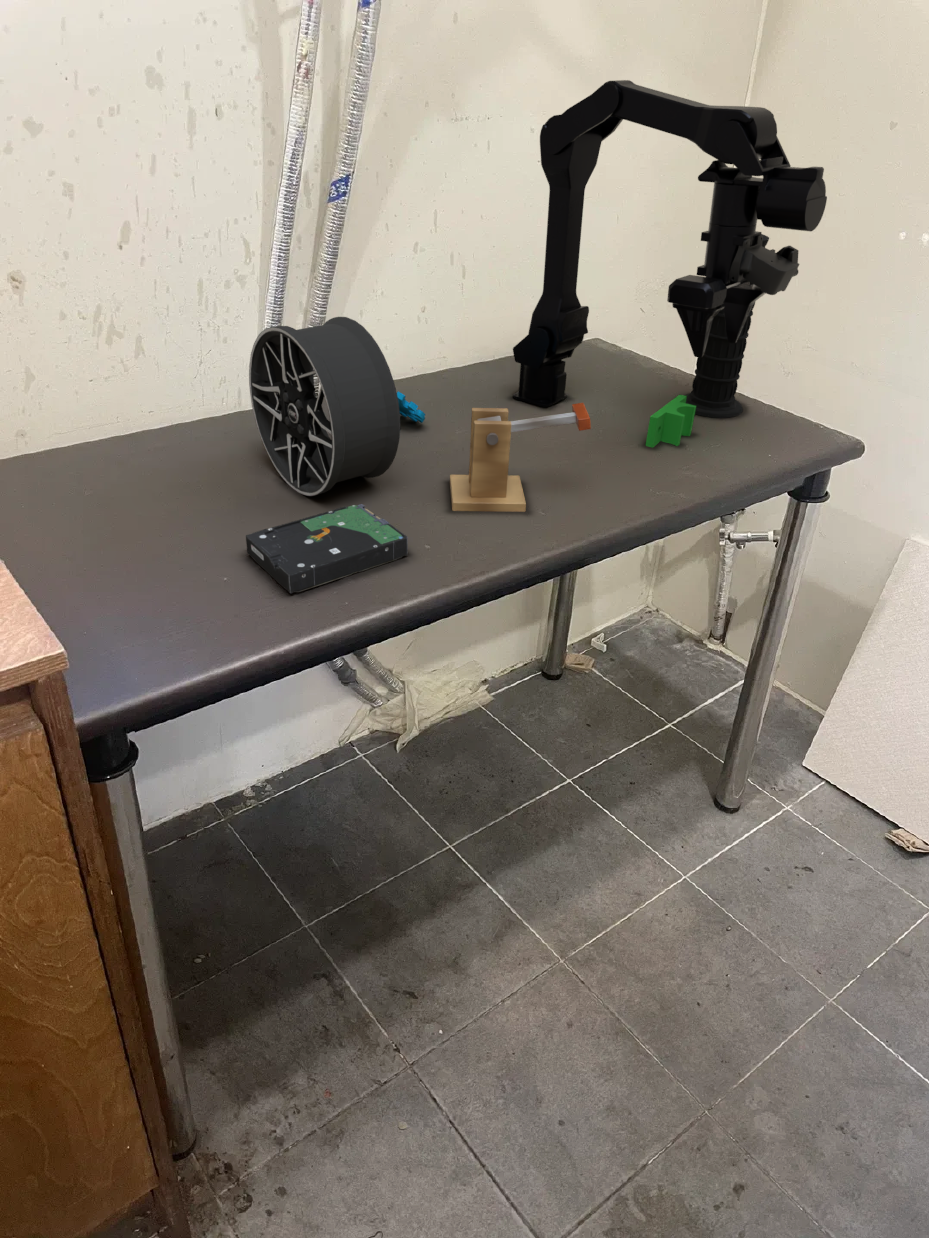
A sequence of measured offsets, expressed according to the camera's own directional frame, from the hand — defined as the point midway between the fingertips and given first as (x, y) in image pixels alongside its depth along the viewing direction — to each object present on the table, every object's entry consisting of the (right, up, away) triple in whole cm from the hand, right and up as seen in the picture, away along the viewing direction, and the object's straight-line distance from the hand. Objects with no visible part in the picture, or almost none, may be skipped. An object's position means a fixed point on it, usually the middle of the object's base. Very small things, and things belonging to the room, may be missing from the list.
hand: (715, 349), depth 122 cm
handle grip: (+6, -2, +23) cm, 24 cm away
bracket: (-31, -21, -7) cm, 38 cm away
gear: (-44, -8, +12) cm, 46 cm away
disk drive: (-49, -29, -20) cm, 60 cm away
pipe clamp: (-3, -9, +12) cm, 16 cm away
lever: (-25, -13, -11) cm, 31 cm away
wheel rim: (-51, -18, -5) cm, 55 cm away
